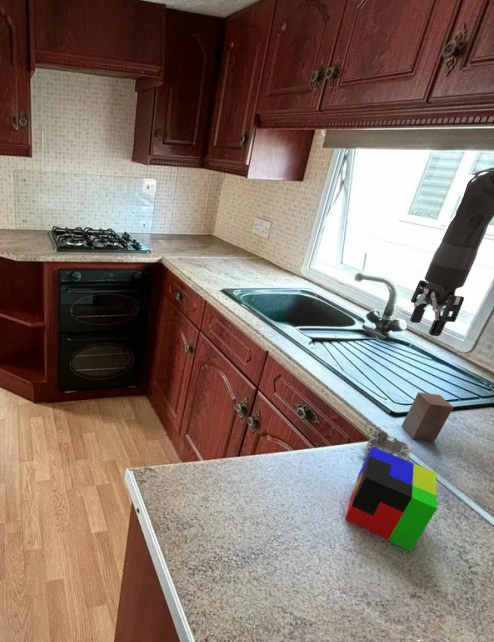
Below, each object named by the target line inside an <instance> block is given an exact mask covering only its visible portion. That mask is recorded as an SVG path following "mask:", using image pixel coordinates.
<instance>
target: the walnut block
mask: <svg viewBox="0 0 494 642" xmlns="http://www.w3.org/2000/svg"><path fill="white" fill-rule="evenodd" d="M453 410H454V406H453V405H452V404H451V403H450V402H449V401H448V400H446V399H445V398H444V397H443V396H442V395H441V394H436V393H435V394H434V393H426V392H420V391H418V392H417V394H416V396H415V398H414V400H413V402H412V404H411V406H410V408H409V410H408V412H407V414H406V416H405V418H404V420H403V421H402V424H401V428H402V429H403V430H404V431H405V432H406V433H407V435H409V437H410V438H411V439H412V440H414V441H415V440H416V441H425V442H431V443H435V442H436V440H437V438H438V436H439V434H440V433H441V431H442V429H443V428H444V425H445V424H446V422H447V421H448V418H449V416H450V414H452V411H453Z"/></svg>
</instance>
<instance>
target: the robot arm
mask: <svg viewBox="0 0 494 642" xmlns="http://www.w3.org/2000/svg"><path fill="white" fill-rule="evenodd" d="M459 196H460V197H461V199H460V201H459V204H458V205H457V208H456V210H455V213H454V215H453V217H451V219H450V220H449V222H448V223H447V225H446V227H445V230H444V231H443V232H444V233H443V235H442V237H441V240H440V242H439V243H438V246H437V248H436V249H435V251H434V253H433V256H432V258H431V261H430V264H429V266H428V268H427V270H426V273H425V276H424V280H422V279H420V280H418V282H417V285H416V288H415V290H414V292H413V294H412V296H411V299H410V303H412V304H413V307H414V309H413V311H412V313H411V316H410V318H409V321H410V322H411V323H412V324H413V323H415V324H420V323H421V322H422V319H423V317H424V315H425V312H426V308H427V307H428V306H430V307H432V311H433V312H434V319H433V322H432V324H431V326H430V328H429V331H428V334H429V335H430V336H433V337H439V336H441V334H442V332H443V330H444V328H445V326H446V324H447V323H455V322H456V320H457V318H458V316H459V313H460V312H461V308H462V306H463V303H464V301H465V297H464V296H463V295H462V296H461V295H456V291H457V289H460V288H462V287H464V285H465V283H466V281H467V279H468V277H469V275H470V273H471V270H472V267H473V266H474V263H475V261H476V258H477V255H478V252H479V249H480V247H481V244H482V242H483V239H484V238H485V235H486V234H487V233H486V232H487V231H488V230H487V229H488V227H489V225H490V224H491V222H492V220H493V218H494V166H493V167H489V168H485V169H482V170H479V171H476V172H474V173H472V174H470V175H469V176H468V177H466V178H465V179H464V181H463V182H462V183H461V185H460V188H459ZM450 312H452V313H451V315H450Z"/></svg>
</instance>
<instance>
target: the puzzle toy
mask: <svg viewBox="0 0 494 642" xmlns="http://www.w3.org/2000/svg"><path fill="white" fill-rule="evenodd" d="M437 488H438V487H437V472H436V471H434V470H431V469H428V468H426V467H424V466H421V465H419V464H416V463H413V462H412V461H409V460H407V461H406V460H404V459H402V458H399V457H397V456H394V455H392V454H389V453H387V452H384V451H382V450H379V449H377V448H374V447H371V449H370V451H369V453H368V455H367V457H366V460H365V459H364V462H363V464H362V466H361V468H360V470H359V473H358V474H357V477H356V479H355V481H354V483H353V485H352V489H351V493H350V497H349V500H348V501H349V502H348V506H347V510H346V514H345V519H344V520H346V521H348V522H350V523H352V524H354V525H355V526H359V527H361V528H362V529H364V530H367V531H368V532H370V533H372V534H374V535H377V536H378V537H381V538H382V539H384V540H386V541H388V542H390V543H393V544H395V545H397V546H399V547H401V548H403V549H405V550H406V551H408V552H412V550H413V548H414V547H415V546H416V544H417V542H418V540H419V539H420V537H421V536H422V534H423V532H424V531H425V529H426V527H427V526H428V524H429V523H430V521H431V519H432V518H433V516H434V514H435V513H436V511H437V510H438V496H437V495H438V493H437V492H438V490H437Z"/></svg>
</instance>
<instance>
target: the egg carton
mask: <svg viewBox="0 0 494 642" xmlns="http://www.w3.org/2000/svg"><path fill="white" fill-rule="evenodd" d="M371 447H374V448H377V449H379V450H382V451H384V452H387V453H389V454H392V455H394V456H397V457H399V458H402V459H404V460H406V461H409V458H410V456H411V454H412V451H413V446H412V445H410V444H407V443H406V442H405V441H400V440H398V438H397V437H394V438H393V439H392V438H390V437H388V432H387V431H385V430H382V429H381V426H378V427H377V428H376V429H375V431H374V432H373V433H372V435H371V437H370V438H369V440H368V441H367V444H366V447H365V448H366V449H365V451H364V452H365V454H364V455H363V457H362V458H363V459H364V461H365V460H366V457H367V455H368V453H369V451H370V449H371Z"/></svg>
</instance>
